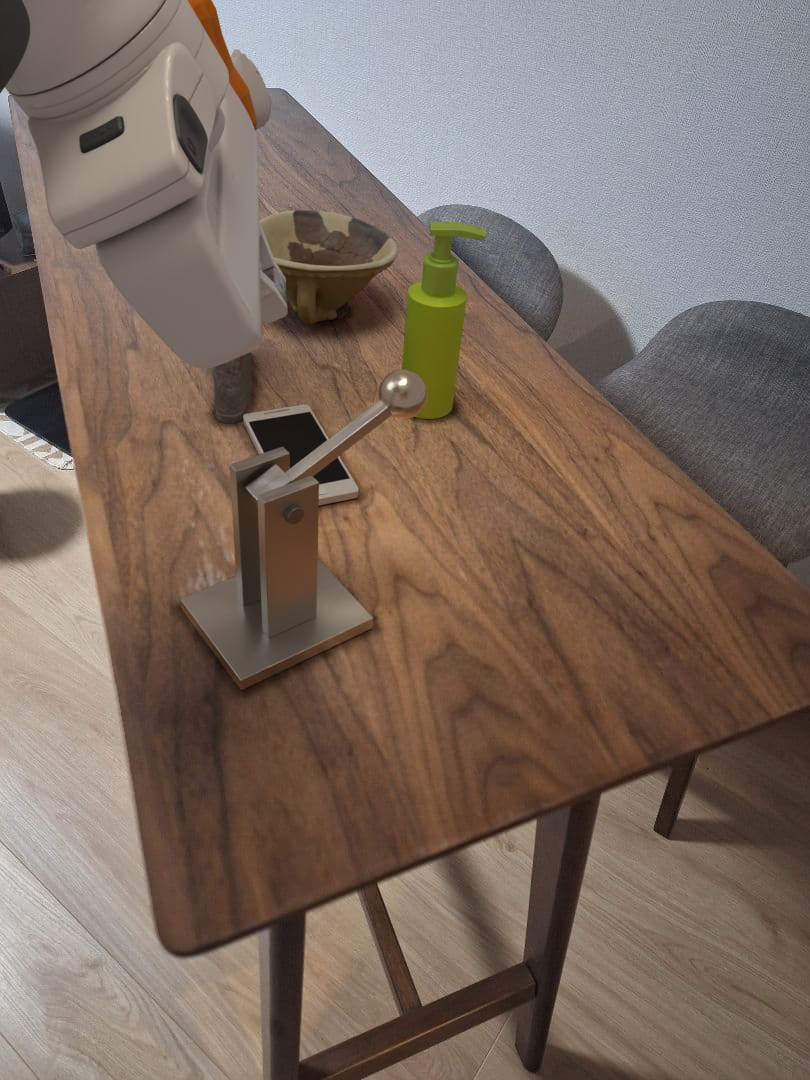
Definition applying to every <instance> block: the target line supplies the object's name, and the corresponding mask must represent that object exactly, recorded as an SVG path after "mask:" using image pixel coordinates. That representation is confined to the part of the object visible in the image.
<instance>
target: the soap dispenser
mask: <svg viewBox="0 0 810 1080" xmlns="http://www.w3.org/2000/svg"><path fill="white" fill-rule="evenodd" d="M429 236H431V237H434V241H433V250H432V252H429V253H427V254H426V255H424V257H423V264H422V266H423V267H422V276H421V280H419V281H417V282H415V283H413V284H411V285H410V286H409V287H408V291H407V300H406V310H405V311H406V313H405V325H404V335H403V348H402V361H401V370H409V371H412V372H414V373H416V374H417V375H418V376H420V377H421V379H422V380H423V381H424V383H425V385H426V389H427V400H426V403H425V406H424V407H423V409H422V410H421V411H420V412H419V413H418V414H417V415H415V416H414V418H417V419H421V420H422V419H424V420H435V419H436V420H437V419H440V418H443V417H445V416H447V415H449V414H450V413H451V411H453V406H454V399H455V391H456V384H457V375H458V367H459V360H460V355H461V344H462V337H463V330H464V323H465V314H466V307H467V300H468V295H467V291H465V289H464V288H462V287H461V286H459V285H458V284H457V277H458V268H459V259H458V258H457V257H456V256H455V255H454V254H452V246H453V237H459V238H469V239H473V240H476V241H480V242H483V241H484V240H486V239H487V231H486V229H485V228H483V227H480V226H477V225H474V224H470V223H467V222H466V223H465V222H459V221H430V222H429Z"/></svg>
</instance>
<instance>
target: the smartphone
mask: <svg viewBox="0 0 810 1080" xmlns="http://www.w3.org/2000/svg"><path fill="white" fill-rule="evenodd" d="M242 422H243V426H244V428H245V430H246V431H247V433H248V436H249V437H250V440H251V441H252V444H253V445H254V448H255V449H256V452H257V455H259V454H262V453H265V452H268V451H271V450H274V449H277V448H280V447H284V448H285V449H286V450H287V451H288V452H289V453H290V468H292V467H293V466H294V465H295V464H297V463H298V462H299V461H301V460H302V459H303V458H305V457H306V456H307V455H309V454H310V453H311V452H312V451H314V450H315V449H316V448H318V447H319V446H320V445H322V444H323V443H324V442H325V441H327V440H328V439H329V438H330V437H329V436H328V434H327V433H326V431H325V430H324V427H322V425H321V423H320V421H319V420H318V418H317V417H316V415H315V413H314V411H313V409H312V408H311V406H310V405H309V404H306V403H305V404H304V403H303V404H298V405H291V406H286V407H279V408H274V409H266V410H262V411H261V410H260V411H256V412H255V411H254V412H249V413H246V414H244V415H243V419H242ZM313 477H314V478H315V479H316V480H317V481H318V482H319V506H323V505H328V504H333V503H338V502H342V501H343V502H344V501H347V500H348V501H349V500H352V499H357V498H358V497H359V486H358V485H357V483H356V481H355V479H354V478H353V476H352V474H351V473H350V471H349V470H348V468H347V466H346V465H345V463H344V461H343V459H342V458H341V455H340V456H339V457H337V458H336V459H335V460H333V461H332V462H331V463H330V464H328V465H327V466H326V467H324V468H323V469H322V470H320V471H319V472H318V473H317V474H315V475H314V476H313Z"/></svg>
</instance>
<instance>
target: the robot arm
mask: <svg viewBox="0 0 810 1080" xmlns="http://www.w3.org/2000/svg"><path fill="white" fill-rule="evenodd" d="M5 89H6V92H7V93H8V94H9V95H10V96H11V98H12V99H13V100H14V101H15V102H16V104H17V105H18V106H19V108H20V109H21V110H22V111H23V112H24V114H25V115H26V116H27V117H28V119H27V127H28V131H29V133H30V136H31V138H32V141H33V142H34V145H35V148H36V151H37V155H38V160H39V163H40V168H41V173H42V177H43V186H44V193H45V200H46V207H47V212H48V215H49V218H50V220H51V222H52V224H53V226H54V227H55V229H57V231H58V232H59V233H60V234H61V236H63V237H64V239H65V240H66V241H67V242H68V243H69V244H70V245H71V246H72V247H74V248H75V249H76V250H82V249H86V248H88V247H90V246H93V245H95V250H96V254H97V256H98V259H99V261H100V264H101V266H102V268H103V270H104V272H105V273H106V275H107V276H108V278H109V280H110V281H111V282H112V284H113V285H114V287H115V288H116V290H117V291H118V292H119V293H120V295H121V296H122V297H123V298H124V300H125V301H126V302H127V303H128V304H129V305H130V306H131V308H132V309H134V311H135V313H137V314H138V315H139V317H140V318H141V319H142V320H143V321H144V322H145V323H146V324H147V326H148V327H149V328H150V329H151V330H152V331H153V332H154V333H155V334H156V336H157V337H158V338H159V339H160V340H161V341H162V342H163V343H164V344H165V345H166V346H167V347H168V348H169V349H170V350H171V351H172V352H173V354H175V356H176V357H178V358H179V359H180V360H181V361H182V362H184V363H185V364H186V365H188V366H190V367H193V368H197V369H200V370H201V369H202V370H209V369H213V368H214V367H216V366H219V365H221V364H224V363H226V362H229V361H231V360H234V359H236V358H238V357H241V356H243V355H245V354H247V353H250V352H251V353H252V352H254V351H255V350H257V349H258V348H260V346H261V345H262V342H263V324H270V323H274V322H275V321H278V320H280V319H283V318H285V317H286V316H287V315H288V313H289V312H288V297H287V295H286V278H285V276H284V274H283V273H282V271H281V270H280V268H279V267H278V265H277V264H276V262H275V260H274V257H273V255H272V252H271V250H270V247H269V244H268V242H267V239H266V236H265V234H264V231H263V229H262V226H261V224H260V222H259V220H260V207H259V206H260V204H259V200H260V199H259V169H258V167H259V165H258V137H257V131H256V132H255V129H254V126H253V124H252V121H251V119H250V117H249V115H248V113H247V111H246V109H245V107H244V106H243V104H242V102H241V101H240V99H239V98H238V96H237V94H236V93H235V91H234V90H233V88H232V87H231V85H230V84H229V73H228V69H227V67H226V65H225V64H224V62H223V60H222V58H221V57H220V55H219V53H218V52H217V50H216V48H215V46H214V45H213V43H212V41H211V40H210V38H209V36H208V34H207V33H206V31H205V29H204V28H203V26H202V24H201V22H200V21H199V19H198V17H197V16H196V14H195V12H194V10H193V9H192V7H191V5H190V4H189V2H188V0H0V94H1V93H2V92H3V90H5Z"/></svg>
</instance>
